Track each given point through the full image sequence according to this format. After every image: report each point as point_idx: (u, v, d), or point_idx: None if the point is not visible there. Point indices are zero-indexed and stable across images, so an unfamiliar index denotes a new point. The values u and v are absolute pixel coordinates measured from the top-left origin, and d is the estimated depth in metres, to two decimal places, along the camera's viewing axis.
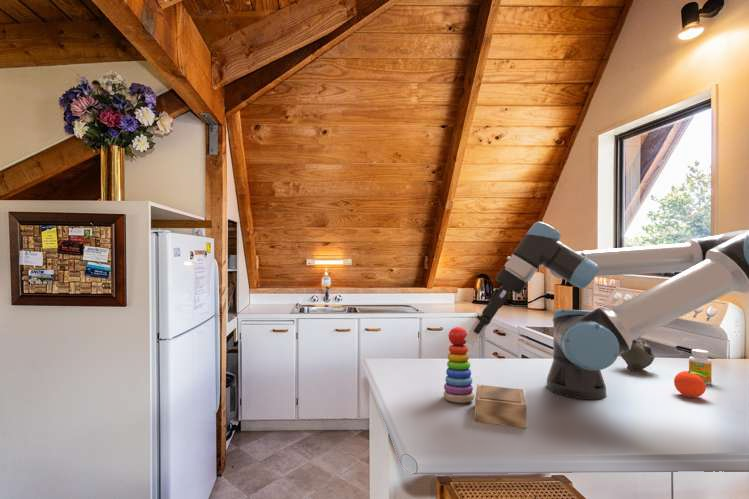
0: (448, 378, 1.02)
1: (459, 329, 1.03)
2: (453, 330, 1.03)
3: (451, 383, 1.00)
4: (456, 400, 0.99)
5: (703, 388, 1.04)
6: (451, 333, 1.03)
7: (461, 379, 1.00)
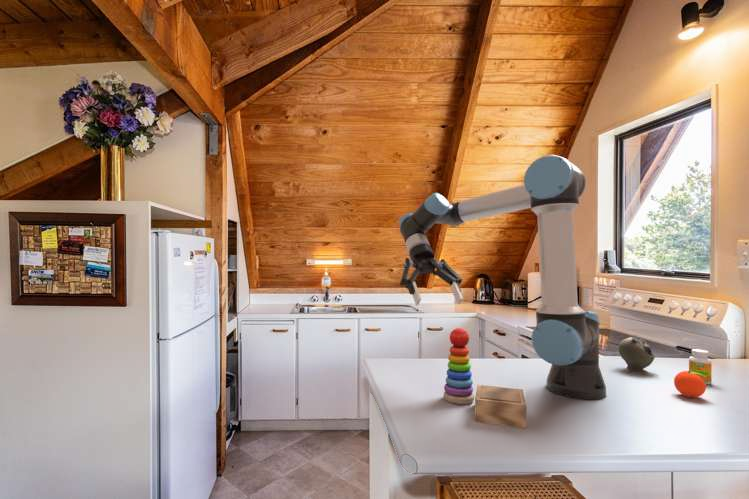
0: (448, 379, 1.01)
1: (460, 331, 1.02)
2: (454, 331, 1.02)
3: (451, 385, 1.00)
4: (456, 402, 0.99)
5: (703, 388, 1.04)
6: (452, 334, 1.02)
7: (462, 381, 0.99)
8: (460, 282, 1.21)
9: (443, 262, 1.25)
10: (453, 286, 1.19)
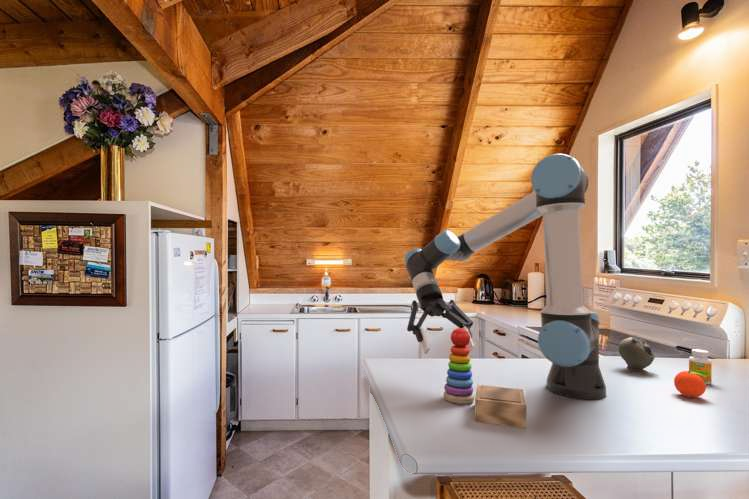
0: (449, 379, 1.01)
1: (462, 330, 1.02)
2: (456, 331, 1.02)
3: (452, 384, 1.00)
4: (456, 401, 0.99)
5: (703, 388, 1.04)
6: (453, 334, 1.02)
7: (462, 380, 1.00)
8: None
9: (452, 303, 1.17)
10: None
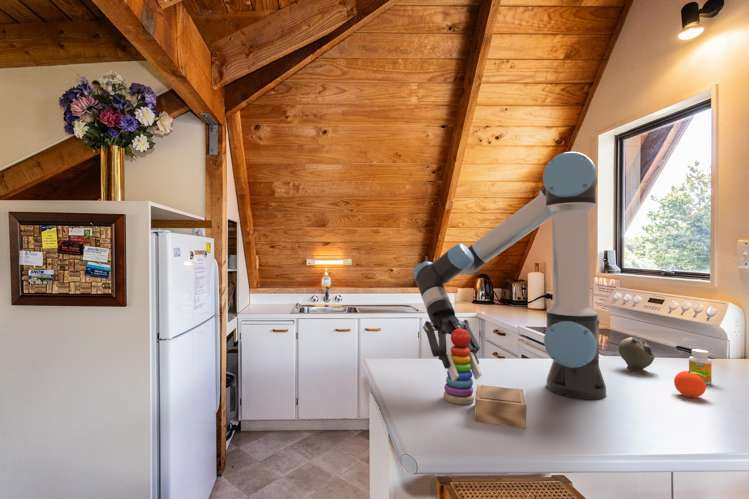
0: (449, 379, 1.01)
1: (462, 331, 1.02)
2: (456, 332, 1.02)
3: (452, 385, 1.00)
4: (457, 402, 0.99)
5: (703, 388, 1.04)
6: (454, 335, 1.02)
7: (462, 381, 0.99)
8: (476, 351, 1.06)
9: (465, 323, 1.11)
10: None
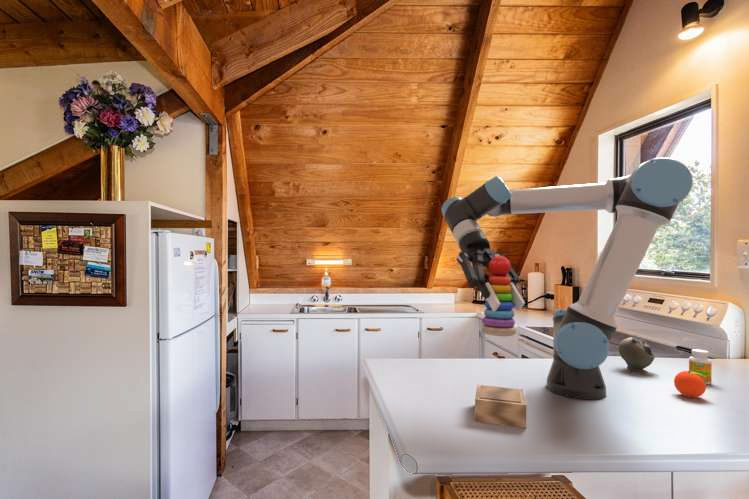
0: (488, 310, 0.92)
1: (502, 257, 0.93)
2: (495, 259, 0.93)
3: (492, 315, 0.91)
4: (498, 333, 0.90)
5: (703, 388, 1.04)
6: (493, 262, 0.93)
7: (503, 311, 0.90)
8: (516, 282, 0.97)
9: None
10: None
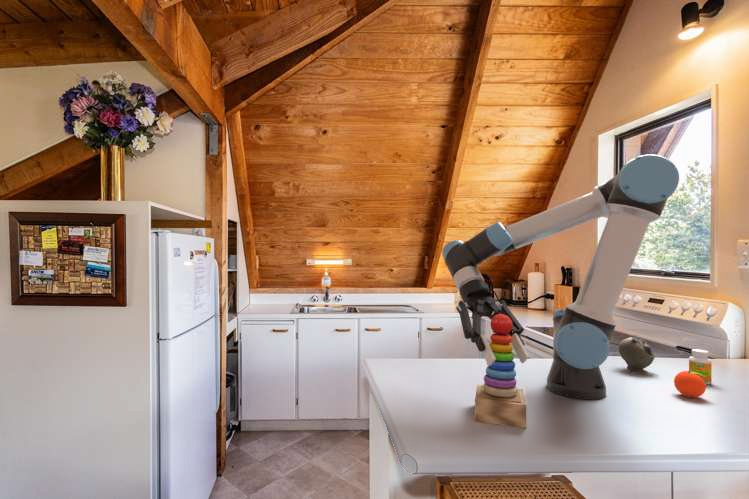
0: (490, 370, 0.92)
1: (503, 316, 0.92)
2: (497, 317, 0.93)
3: (494, 376, 0.91)
4: (499, 394, 0.89)
5: (703, 388, 1.04)
6: (494, 321, 0.92)
7: (505, 371, 0.90)
8: (520, 332, 0.97)
9: (503, 304, 1.01)
10: (514, 339, 0.95)
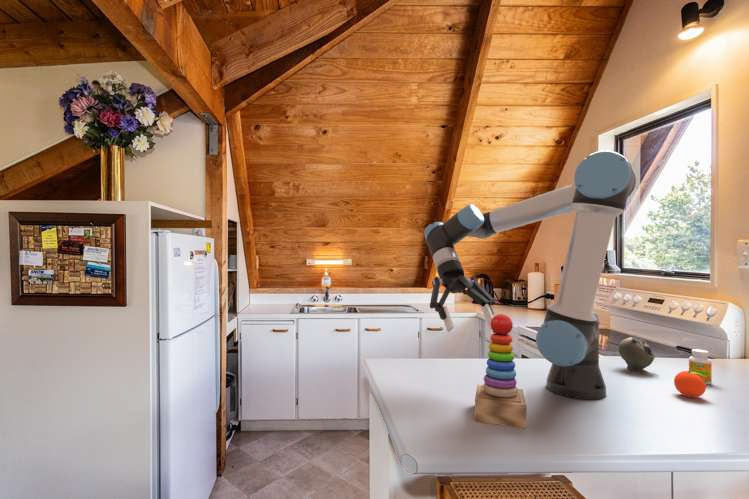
0: (490, 370, 0.92)
1: (504, 317, 0.92)
2: (497, 317, 0.93)
3: (494, 376, 0.91)
4: (499, 394, 0.89)
5: (703, 388, 1.04)
6: (494, 321, 0.92)
7: (505, 372, 0.90)
8: (492, 303, 1.13)
9: (474, 280, 1.16)
10: (485, 308, 1.11)
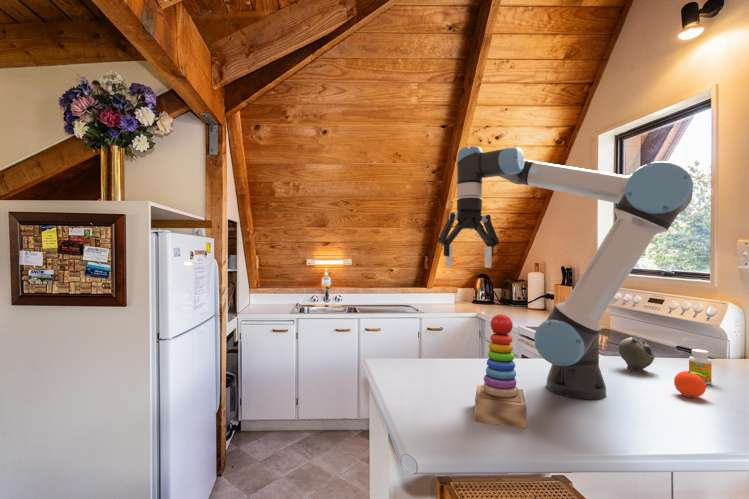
0: (490, 370, 0.92)
1: (504, 317, 0.92)
2: (497, 317, 0.93)
3: (494, 376, 0.91)
4: (499, 394, 0.89)
5: (703, 388, 1.04)
6: (494, 321, 0.92)
7: (505, 372, 0.90)
8: (496, 244, 1.22)
9: (488, 219, 1.20)
10: (487, 249, 1.21)
